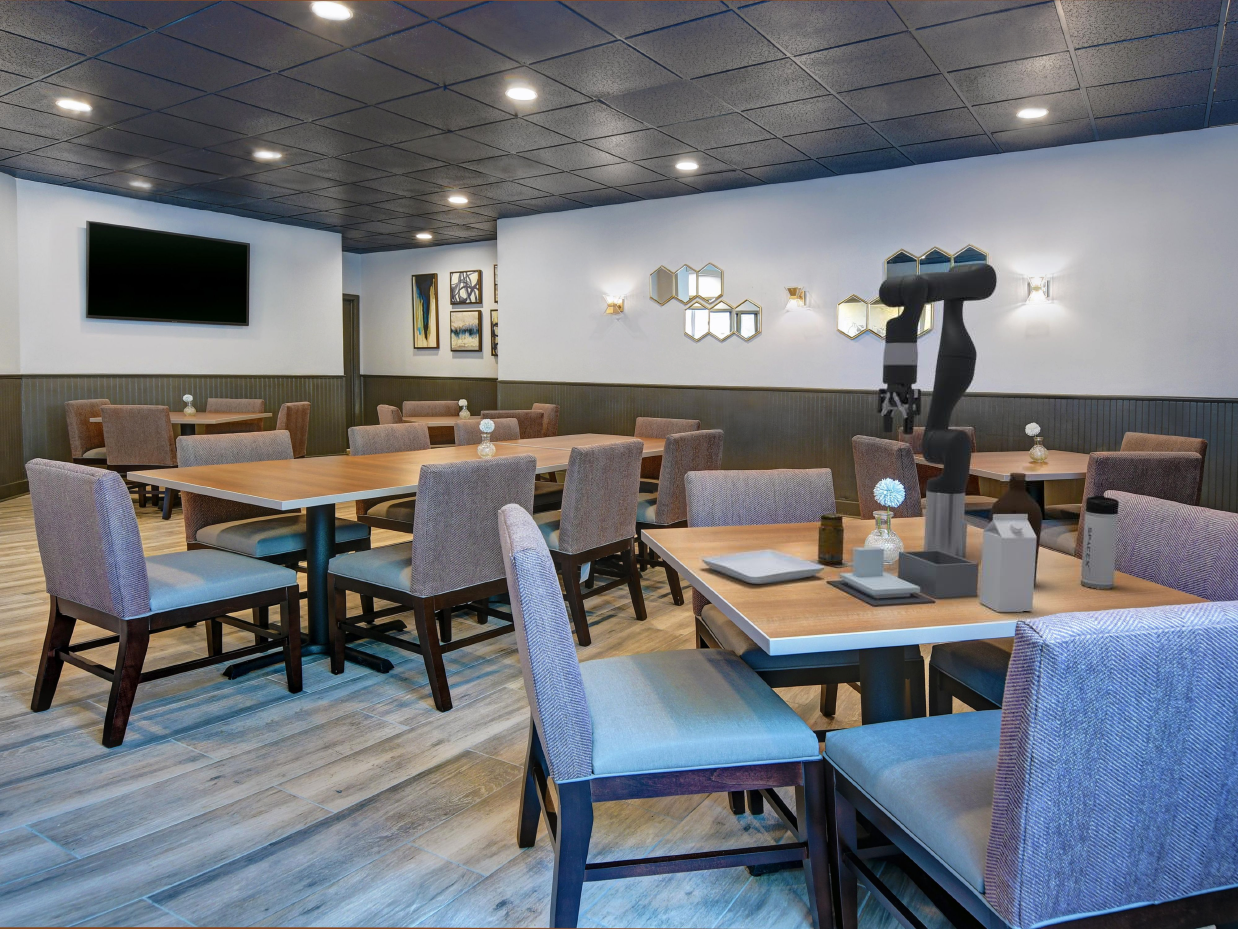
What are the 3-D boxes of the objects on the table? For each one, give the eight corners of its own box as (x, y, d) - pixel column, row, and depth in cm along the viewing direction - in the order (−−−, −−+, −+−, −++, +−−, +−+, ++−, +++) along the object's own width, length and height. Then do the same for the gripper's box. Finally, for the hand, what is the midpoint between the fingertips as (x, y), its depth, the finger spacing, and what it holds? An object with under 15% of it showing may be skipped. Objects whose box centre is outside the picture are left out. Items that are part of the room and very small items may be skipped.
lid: (839, 583, 180) (840, 546, 180) (882, 580, 183) (883, 545, 182) (873, 600, 166) (875, 561, 165) (919, 597, 169) (921, 558, 168)
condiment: (827, 558, 208) (829, 512, 207) (855, 564, 201) (857, 516, 200) (809, 562, 203) (811, 515, 202) (838, 568, 197) (839, 519, 196)
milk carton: (978, 603, 166) (983, 511, 164) (1012, 602, 167) (1017, 511, 165) (997, 613, 159) (1003, 517, 157) (1032, 612, 160) (1038, 517, 158)
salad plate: (752, 590, 176) (752, 575, 176) (698, 570, 195) (699, 556, 195) (827, 580, 186) (827, 565, 186) (769, 562, 205) (769, 548, 205)
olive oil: (1047, 589, 178) (1054, 476, 175) (999, 589, 178) (1005, 475, 175) (1023, 578, 188) (1030, 470, 186) (978, 577, 188) (983, 470, 186)
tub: (897, 582, 183) (899, 551, 182) (936, 580, 185) (938, 550, 185) (935, 598, 170) (936, 565, 169) (977, 595, 172) (978, 563, 171)
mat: (882, 579, 186) (882, 577, 186) (935, 602, 166) (935, 600, 166) (826, 582, 182) (826, 580, 182) (873, 606, 163) (873, 604, 163)
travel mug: (1108, 583, 183) (1114, 496, 181) (1116, 590, 177) (1122, 500, 175) (1077, 581, 185) (1083, 494, 183) (1083, 588, 179) (1089, 498, 177)
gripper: (933, 363, 182) (929, 435, 183) (897, 364, 196) (894, 431, 197) (903, 362, 180) (900, 435, 182) (869, 363, 194) (866, 431, 196)
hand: (897, 433), depth 189 cm, fingers open, 8 cm apart
